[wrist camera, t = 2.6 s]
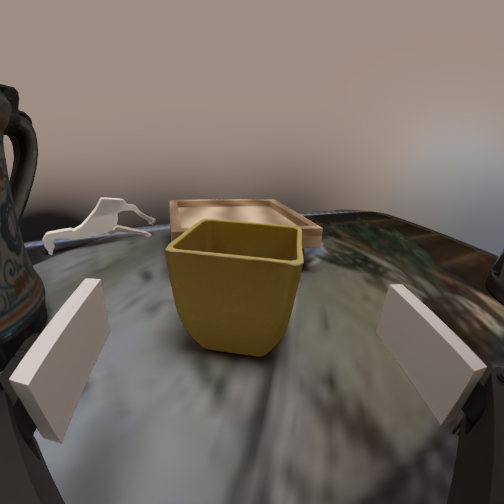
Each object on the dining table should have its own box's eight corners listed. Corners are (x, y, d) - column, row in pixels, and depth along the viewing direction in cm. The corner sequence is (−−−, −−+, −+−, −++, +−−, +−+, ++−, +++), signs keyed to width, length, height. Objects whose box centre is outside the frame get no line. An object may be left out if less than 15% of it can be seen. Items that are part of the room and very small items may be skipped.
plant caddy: (271, 232, 54) (273, 199, 52) (316, 272, 38) (322, 228, 36) (170, 235, 50) (169, 200, 47) (173, 282, 33) (171, 232, 31)
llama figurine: (136, 270, 50) (40, 249, 38) (156, 209, 49) (58, 179, 37) (139, 274, 49) (40, 253, 37) (159, 211, 48) (58, 180, 36)
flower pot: (203, 304, 30) (202, 216, 26) (290, 315, 29) (302, 225, 25) (171, 359, 21) (161, 248, 18) (286, 377, 20) (304, 263, 17)
